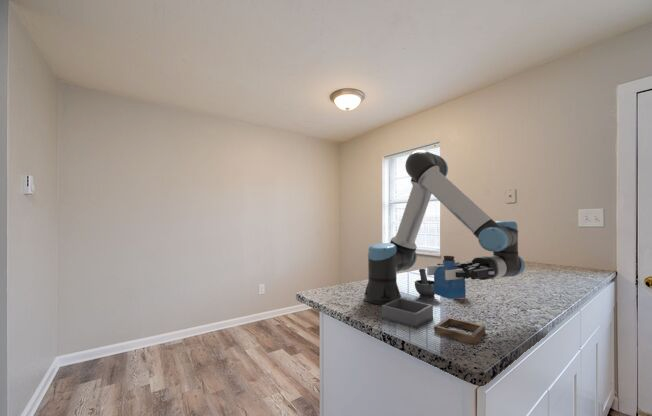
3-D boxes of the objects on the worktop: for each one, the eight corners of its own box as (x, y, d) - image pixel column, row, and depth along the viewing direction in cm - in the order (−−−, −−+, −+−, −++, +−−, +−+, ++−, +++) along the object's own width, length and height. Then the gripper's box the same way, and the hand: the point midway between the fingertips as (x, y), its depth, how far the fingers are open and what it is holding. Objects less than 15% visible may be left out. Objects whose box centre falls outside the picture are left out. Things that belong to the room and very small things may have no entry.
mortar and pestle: (442, 301, 114) (442, 272, 115) (420, 301, 114) (420, 272, 115) (431, 294, 126) (431, 267, 126) (411, 294, 125) (410, 267, 126)
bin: (381, 318, 95) (381, 305, 95) (399, 310, 104) (399, 298, 104) (416, 329, 86) (416, 314, 86) (433, 318, 95) (432, 305, 95)
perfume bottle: (449, 299, 81) (449, 258, 82) (434, 293, 87) (433, 255, 88) (465, 297, 84) (464, 257, 84) (449, 291, 89) (448, 254, 90)
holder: (434, 333, 83) (434, 326, 83) (447, 323, 91) (447, 316, 91) (474, 344, 75) (474, 337, 75) (485, 332, 83) (485, 325, 83)
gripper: (517, 285, 84) (464, 293, 75) (462, 273, 102) (414, 279, 92) (517, 260, 85) (464, 265, 75) (462, 253, 102) (414, 256, 93)
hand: (436, 273), depth 84 cm, fingers closed on perfume bottle, 6 cm apart
